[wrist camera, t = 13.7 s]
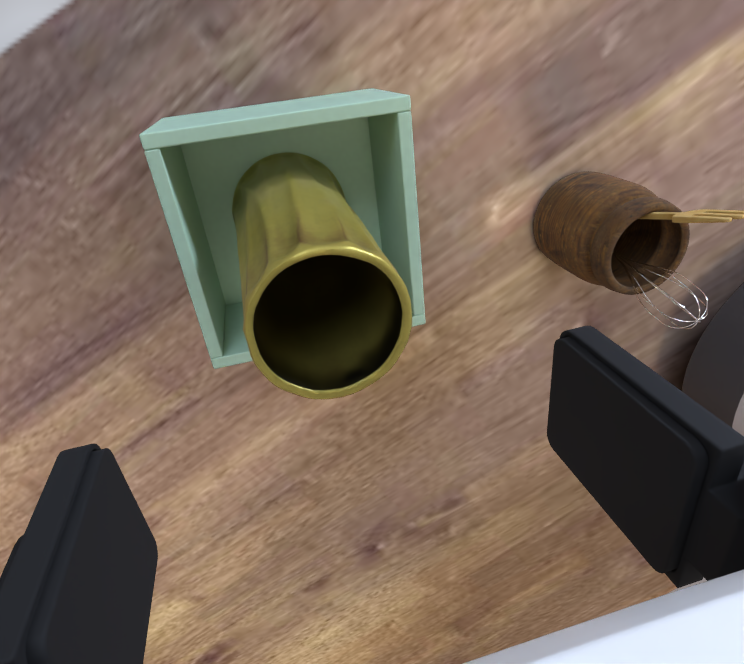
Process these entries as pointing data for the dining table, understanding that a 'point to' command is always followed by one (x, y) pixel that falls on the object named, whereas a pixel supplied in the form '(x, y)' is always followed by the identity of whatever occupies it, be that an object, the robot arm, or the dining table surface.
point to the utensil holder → (618, 233)
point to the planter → (720, 365)
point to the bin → (264, 138)
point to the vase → (314, 282)
